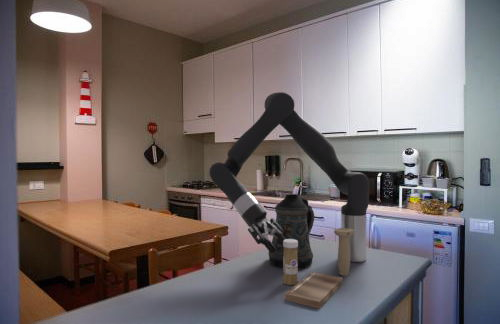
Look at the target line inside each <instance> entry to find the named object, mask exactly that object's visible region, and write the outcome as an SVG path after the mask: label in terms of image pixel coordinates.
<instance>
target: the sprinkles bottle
mask: <svg viewBox="0 0 500 324" xmlns="http://www.w3.org/2000/svg"><path fill="white" fill-rule="evenodd" d="M283 246H284V256H283V269H282V270H283V280H282V281H283V284H285V285H287V286H295V285H296V284H298V283H299V282H298V273H299V272H298V270H299V269H298V262H297V247H298V241H297V240H295V239H285V240H284V241H283Z"/></svg>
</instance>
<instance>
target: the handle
mask: <svg viewBox="0 0 500 324" xmlns="http://www.w3.org/2000/svg"><path fill="white" fill-rule="evenodd" d="M333 233H334V235H336V236H338V248H337V249H338V251H337V266H338V273H339V275H340V276H344V277H347V276H348V275H350V268H351V261H350V246H349V237H350V236H351V235H353V234H354V230H353V229H350V228H341V227H339V228H335V229H334V230H333Z"/></svg>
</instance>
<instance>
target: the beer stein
mask: <svg viewBox="0 0 500 324" xmlns="http://www.w3.org/2000/svg"><path fill="white" fill-rule="evenodd" d="M274 209H275V210H274V211H275V213H276V214H275V215H276V218H275V221H276V222H277V223H278V224H279V225H280V226H281V228H282V229H283V230H284V231H283V232H282V235H283V236H284V237H285V239H295V240H297V241H298V247H297V262H298V270H299V269H306V268H308V267H311V266H312V263H313V258H314V254H313V251H312V248H311V243H310V233H311V232H312V229H313V226H314V221H315V212H314V210H313V207H312V206H311V205H309V200H308V199H306V198H303V197H300V196H299V194H286V195H285V197H284V198H283V199H282V200H281V201H280V202H278V203H277V204H276V205H275V206H274ZM277 229H278V230H279V228H278V227H277ZM275 234H276V233H275ZM271 242H272V244H273V245H274V246H275V248H276V251H275V252H274V253H272V254H271V253H270V252H269V251H268V259H269V263H270V265H272V266H273V267H274V268H275V267H276V268H279V269H281V270H283V256H284V247H283V246H282V245H281V243H280V242H279V241H278V240H277V238H276V237H274V236H272V240H271Z"/></svg>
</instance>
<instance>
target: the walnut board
mask: <svg viewBox="0 0 500 324" xmlns="http://www.w3.org/2000/svg"><path fill="white" fill-rule="evenodd" d="M343 278H344V277H341V276H335V275H329V274H325V273H319V272H314V271H312V272H310V273H309V274H308V275H306V276H305V277H304V278H303V279H302V280H300V281H299V282H298V283H297V284H296V285H293V286H292V287H291V288H290V289H289V290H287V291H286V292H285V293H284V300H285V301H288V302H292V303H296V304H301V305H303V306H307V307H312V308H315V309H319V310H320V309H321V308H322V306H324V305H325V304H326V302H327V301H328V300H329V299H330V298H331V297H332V296H333V295H334V294H335V293H336V292H337V291H338V289H340V287H341V286H342V285H343V282H344V279H343Z"/></svg>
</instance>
